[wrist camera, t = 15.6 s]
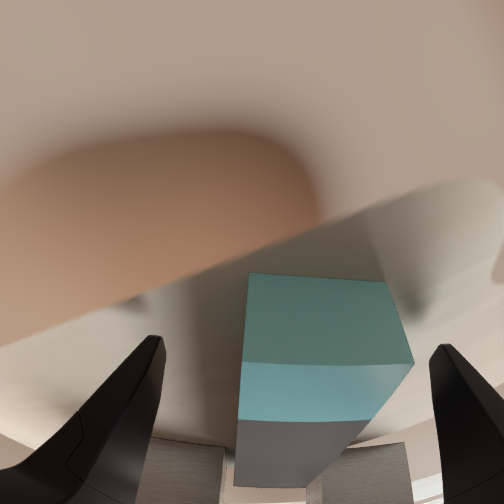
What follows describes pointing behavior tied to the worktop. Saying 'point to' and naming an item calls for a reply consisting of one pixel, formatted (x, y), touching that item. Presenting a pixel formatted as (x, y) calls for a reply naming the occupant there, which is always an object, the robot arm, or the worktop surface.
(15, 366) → the worktop surface
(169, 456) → the long gray rectangular block
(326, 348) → the bar
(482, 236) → the worktop surface
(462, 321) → the worktop surface
